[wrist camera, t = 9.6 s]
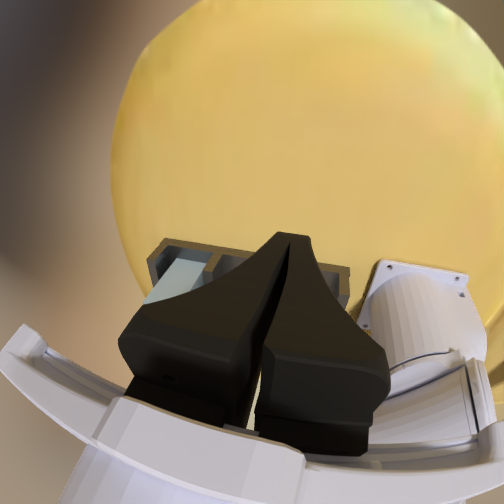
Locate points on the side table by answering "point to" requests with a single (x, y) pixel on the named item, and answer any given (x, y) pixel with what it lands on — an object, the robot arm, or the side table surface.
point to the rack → (230, 264)
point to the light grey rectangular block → (177, 280)
